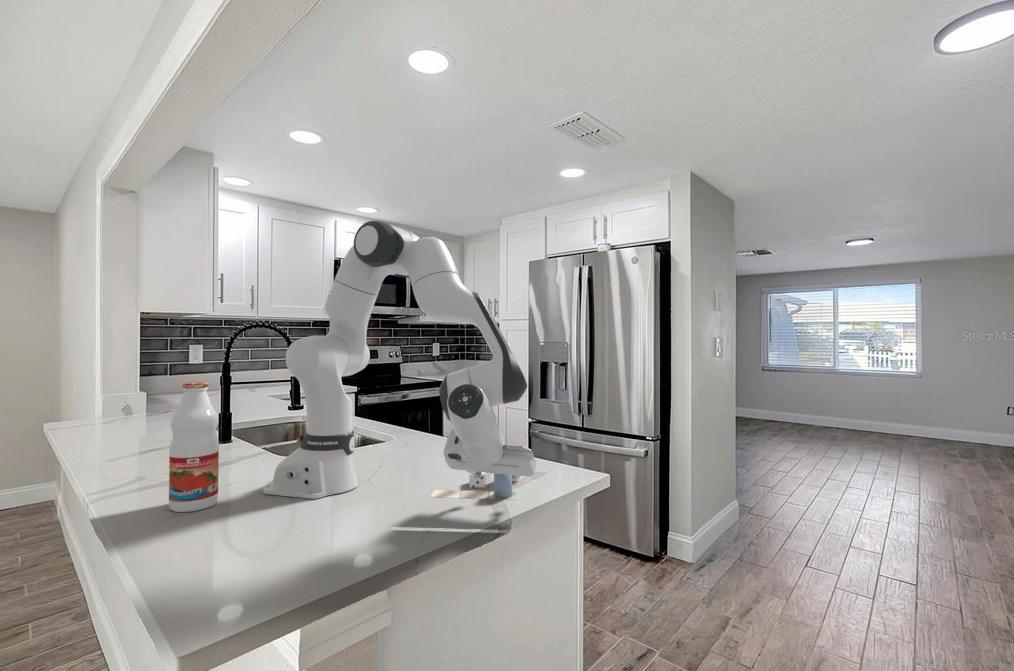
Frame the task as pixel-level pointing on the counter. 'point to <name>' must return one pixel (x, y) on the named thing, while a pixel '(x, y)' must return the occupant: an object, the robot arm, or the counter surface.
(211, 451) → the fruit juice
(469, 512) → the counter surface
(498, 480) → the pawn
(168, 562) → the counter surface
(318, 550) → the counter surface
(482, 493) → the track
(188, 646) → the counter surface
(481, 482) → the die
